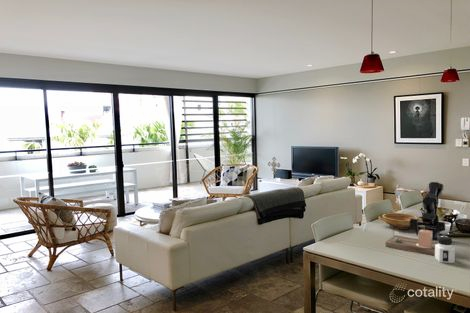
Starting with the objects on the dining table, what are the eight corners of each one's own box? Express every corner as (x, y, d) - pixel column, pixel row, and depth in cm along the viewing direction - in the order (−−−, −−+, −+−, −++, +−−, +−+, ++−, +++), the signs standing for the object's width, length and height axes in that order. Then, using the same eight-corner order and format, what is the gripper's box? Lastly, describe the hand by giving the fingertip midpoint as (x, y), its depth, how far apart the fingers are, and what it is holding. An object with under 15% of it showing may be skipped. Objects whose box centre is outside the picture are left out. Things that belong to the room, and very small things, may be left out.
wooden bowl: (379, 230, 263) (379, 219, 262) (377, 222, 286) (377, 211, 285) (425, 232, 254) (425, 221, 253) (419, 224, 277) (419, 213, 276)
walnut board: (394, 239, 240) (394, 231, 240) (442, 247, 222) (442, 239, 222) (385, 246, 226) (385, 238, 226) (436, 255, 208) (436, 246, 208)
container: (454, 263, 197) (455, 239, 196) (439, 262, 198) (439, 238, 197) (449, 258, 204) (450, 235, 203) (434, 257, 206) (435, 234, 205)
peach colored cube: (420, 242, 222) (420, 229, 221) (432, 244, 218) (432, 230, 217) (418, 245, 216) (418, 231, 216) (430, 247, 213) (430, 233, 212)
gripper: (410, 205, 225) (406, 227, 217) (445, 208, 214) (442, 231, 206) (412, 215, 232) (409, 236, 224) (446, 219, 221) (443, 241, 213)
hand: (425, 236), depth 217 cm, fingers open, 9 cm apart
